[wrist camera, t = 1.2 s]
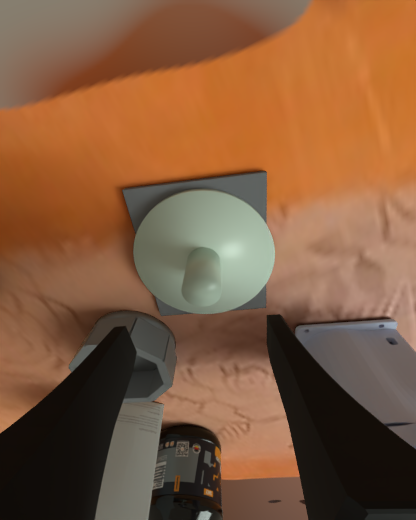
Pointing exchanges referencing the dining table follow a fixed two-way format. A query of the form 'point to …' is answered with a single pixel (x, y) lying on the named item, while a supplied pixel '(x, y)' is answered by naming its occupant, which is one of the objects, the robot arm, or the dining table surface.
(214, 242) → the lid
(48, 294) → the dining table surface
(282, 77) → the dining table surface
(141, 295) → the dining table surface
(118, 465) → the skincare box
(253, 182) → the mat
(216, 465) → the supplement container
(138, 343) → the bowl
